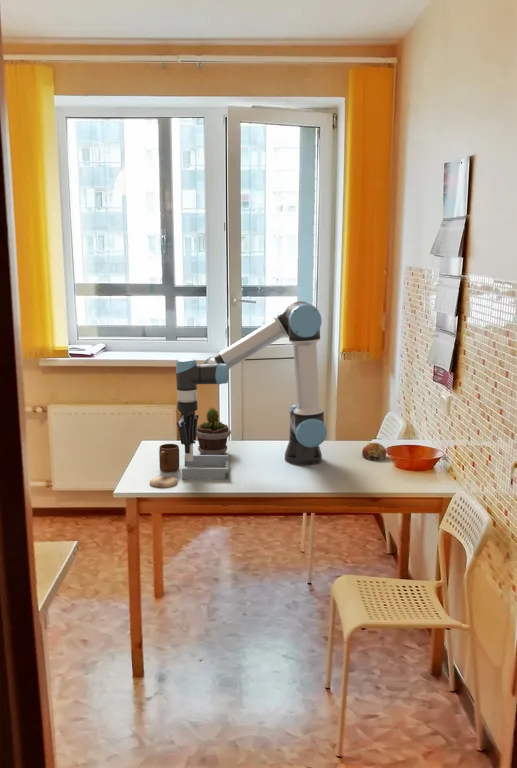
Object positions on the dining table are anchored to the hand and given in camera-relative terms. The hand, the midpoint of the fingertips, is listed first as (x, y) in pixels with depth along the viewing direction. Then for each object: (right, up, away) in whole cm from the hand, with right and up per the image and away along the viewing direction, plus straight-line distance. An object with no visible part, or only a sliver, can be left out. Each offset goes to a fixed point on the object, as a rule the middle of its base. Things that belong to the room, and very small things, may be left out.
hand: (189, 460), depth 252 cm
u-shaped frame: (+6, -5, +1) cm, 8 cm away
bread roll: (+74, -2, +23) cm, 78 cm away
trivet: (-8, -7, -12) cm, 16 cm away
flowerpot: (+7, 0, +24) cm, 25 cm away
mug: (-8, -5, +1) cm, 10 cm away
